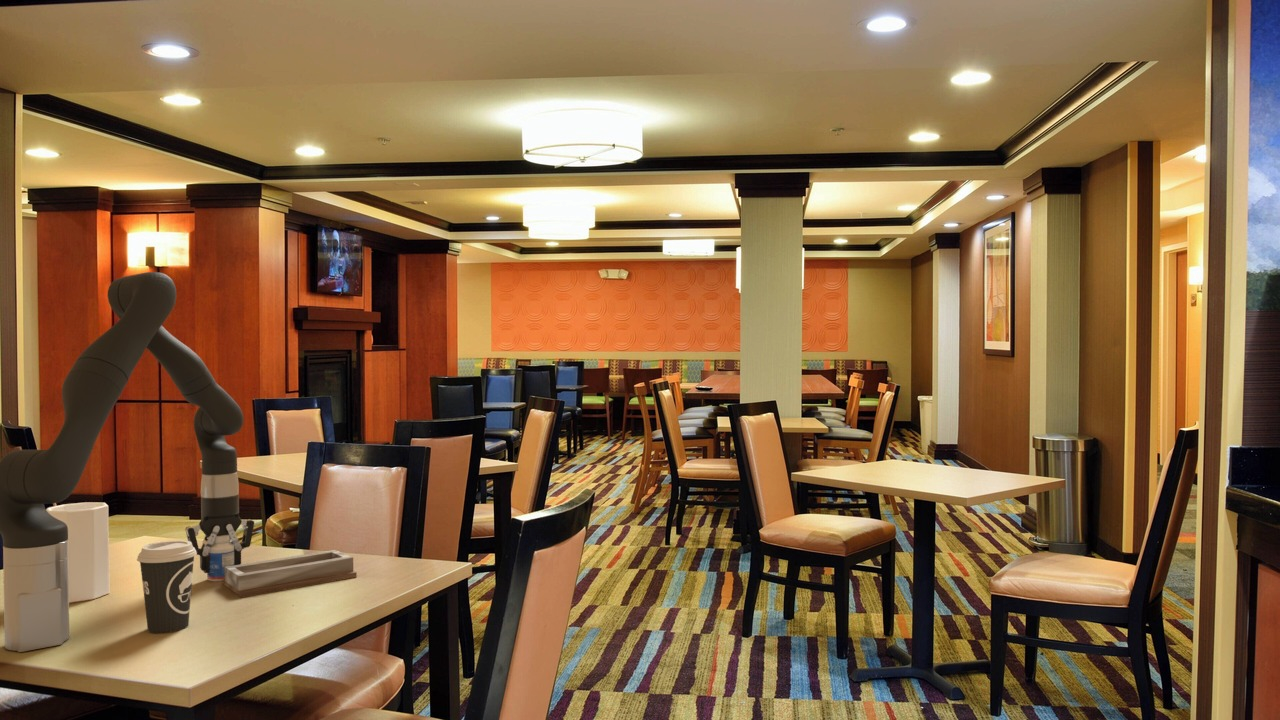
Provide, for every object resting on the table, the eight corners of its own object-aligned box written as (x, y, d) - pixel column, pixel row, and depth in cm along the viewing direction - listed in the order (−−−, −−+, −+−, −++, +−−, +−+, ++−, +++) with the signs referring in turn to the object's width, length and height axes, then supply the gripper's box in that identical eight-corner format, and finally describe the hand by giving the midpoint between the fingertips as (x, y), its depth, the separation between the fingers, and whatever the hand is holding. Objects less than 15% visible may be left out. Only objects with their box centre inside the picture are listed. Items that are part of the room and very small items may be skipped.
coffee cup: (184, 616, 165) (182, 537, 165) (207, 626, 159) (206, 543, 159) (129, 629, 158) (127, 546, 157) (151, 639, 152) (150, 553, 151)
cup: (36, 606, 173) (35, 512, 173) (58, 591, 184) (56, 503, 184) (100, 601, 176) (99, 509, 176) (117, 587, 187) (116, 500, 187)
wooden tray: (356, 577, 193) (356, 558, 193) (241, 597, 178) (241, 577, 178) (332, 565, 204) (332, 548, 204) (222, 583, 188) (222, 565, 188)
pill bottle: (201, 580, 192) (201, 535, 192) (223, 574, 197) (223, 531, 196) (218, 583, 189) (217, 538, 189) (239, 577, 194) (239, 533, 194)
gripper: (188, 499, 185) (189, 579, 185) (259, 491, 195) (260, 567, 195) (179, 495, 191) (181, 572, 191) (249, 488, 200) (250, 561, 200)
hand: (221, 569), depth 193 cm, fingers closed on pill bottle, 5 cm apart
